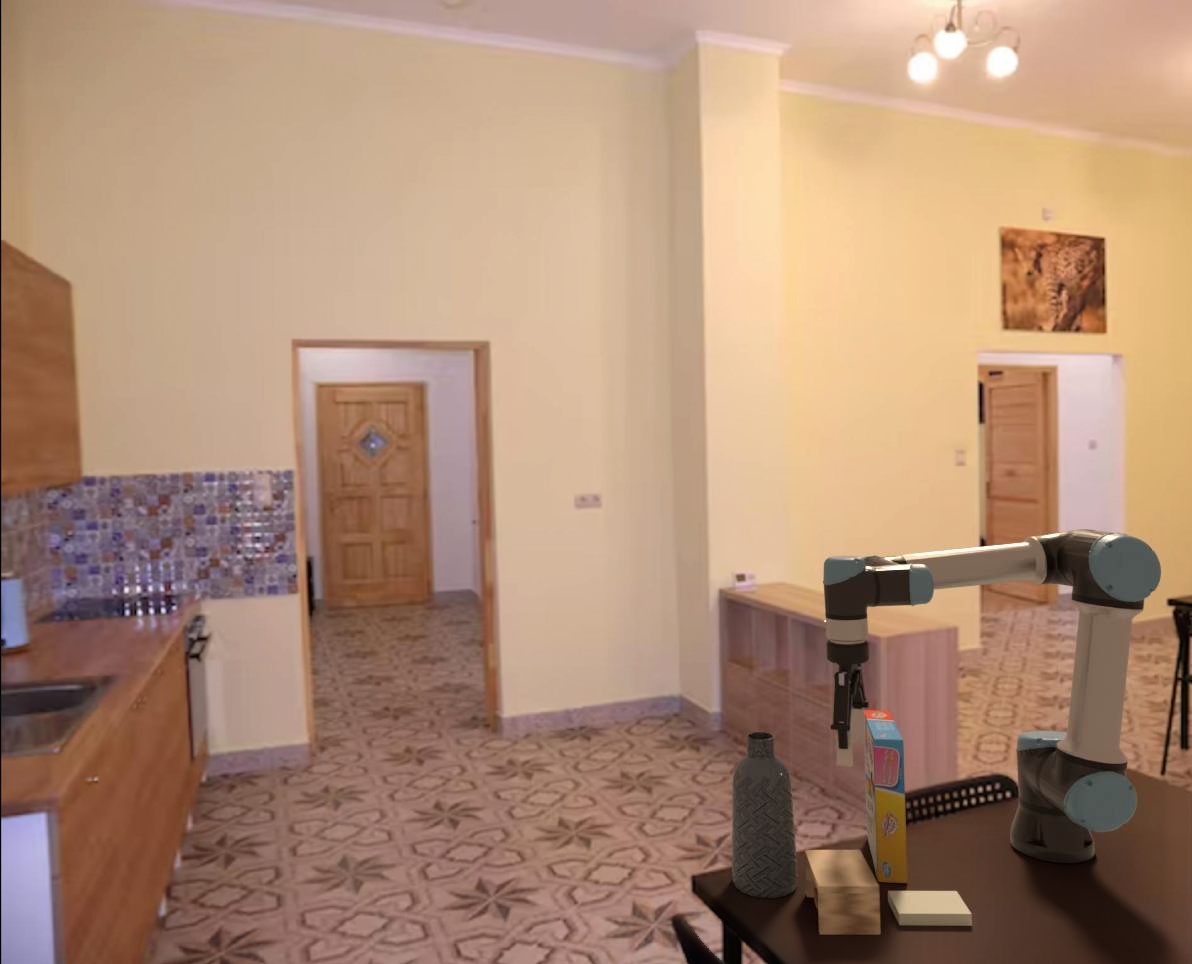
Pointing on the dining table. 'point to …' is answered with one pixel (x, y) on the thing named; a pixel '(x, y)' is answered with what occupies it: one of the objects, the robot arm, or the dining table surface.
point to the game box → (885, 796)
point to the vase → (763, 822)
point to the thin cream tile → (929, 908)
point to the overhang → (843, 892)
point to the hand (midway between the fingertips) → (851, 753)
